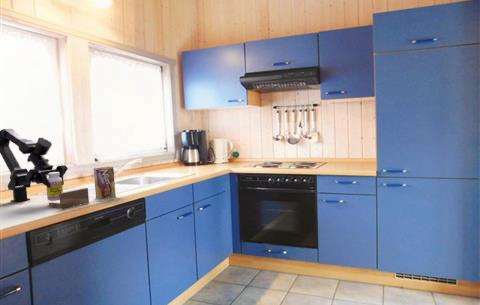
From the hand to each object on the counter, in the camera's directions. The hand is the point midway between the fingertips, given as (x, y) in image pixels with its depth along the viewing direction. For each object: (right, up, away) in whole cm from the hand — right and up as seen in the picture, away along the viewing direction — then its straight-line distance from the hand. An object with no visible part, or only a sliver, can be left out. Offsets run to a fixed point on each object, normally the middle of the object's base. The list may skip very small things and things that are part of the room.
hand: (56, 185), depth 172 cm
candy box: (+18, -7, +14) cm, 24 cm away
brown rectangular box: (+7, -9, -3) cm, 12 cm away
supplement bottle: (-1, -7, +1) cm, 7 cm away
